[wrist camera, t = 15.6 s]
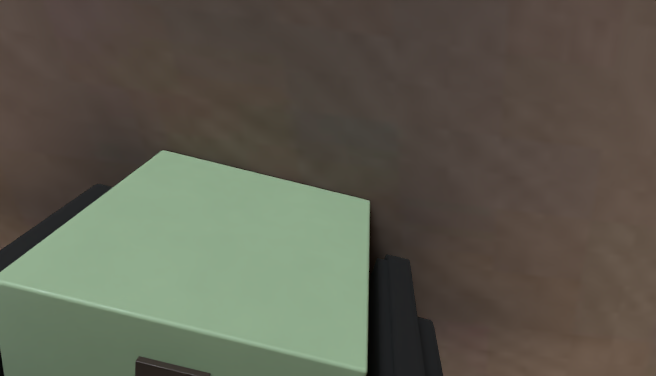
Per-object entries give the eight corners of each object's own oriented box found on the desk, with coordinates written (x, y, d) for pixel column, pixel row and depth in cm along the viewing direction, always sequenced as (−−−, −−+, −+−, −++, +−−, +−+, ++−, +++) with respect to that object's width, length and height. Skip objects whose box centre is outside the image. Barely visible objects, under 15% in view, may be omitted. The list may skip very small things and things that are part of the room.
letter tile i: (162, 148, 10) (-20, 283, 5) (370, 200, 10) (368, 378, 5) (152, 311, 12) (16, 507, 7) (324, 352, 12) (294, 574, 8)
